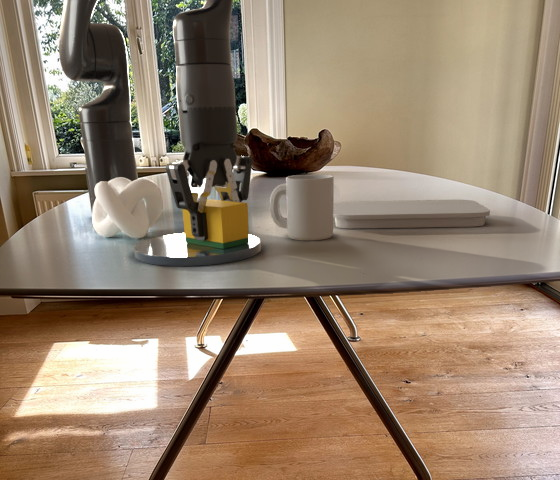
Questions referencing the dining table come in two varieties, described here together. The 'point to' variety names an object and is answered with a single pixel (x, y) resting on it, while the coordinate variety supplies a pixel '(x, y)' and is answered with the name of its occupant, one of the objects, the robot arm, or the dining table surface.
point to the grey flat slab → (409, 214)
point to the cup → (305, 206)
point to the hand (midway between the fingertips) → (216, 235)
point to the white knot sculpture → (126, 207)
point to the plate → (191, 251)
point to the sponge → (221, 224)
